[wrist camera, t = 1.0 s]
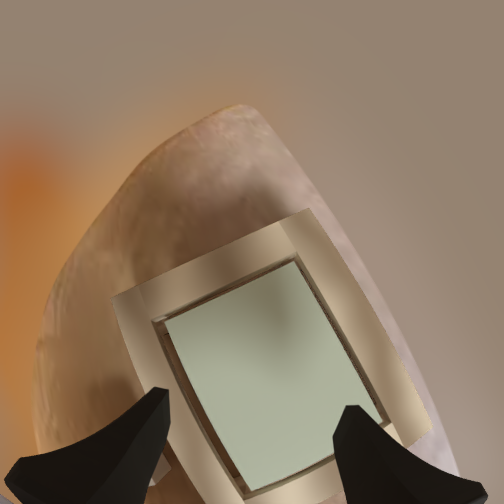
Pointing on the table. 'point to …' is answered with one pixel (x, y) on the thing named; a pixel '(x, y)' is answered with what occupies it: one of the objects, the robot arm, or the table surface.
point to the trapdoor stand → (337, 307)
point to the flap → (269, 374)
